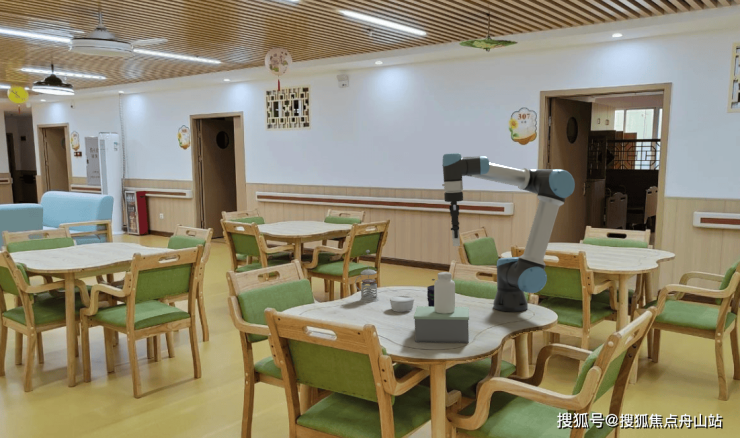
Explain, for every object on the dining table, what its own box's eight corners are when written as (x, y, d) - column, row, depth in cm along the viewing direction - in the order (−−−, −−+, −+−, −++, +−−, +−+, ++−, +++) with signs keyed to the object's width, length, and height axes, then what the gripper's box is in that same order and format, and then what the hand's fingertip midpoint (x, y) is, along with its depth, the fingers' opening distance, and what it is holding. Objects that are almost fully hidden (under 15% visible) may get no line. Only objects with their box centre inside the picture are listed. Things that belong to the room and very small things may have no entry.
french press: (379, 301, 285) (377, 251, 282) (355, 302, 284) (353, 252, 282) (379, 297, 294) (377, 248, 292) (356, 297, 294) (354, 248, 292)
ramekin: (414, 306, 275) (414, 295, 274) (414, 312, 264) (413, 301, 263) (390, 306, 276) (390, 295, 275) (389, 312, 265) (388, 301, 264)
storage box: (468, 331, 232) (468, 309, 231) (468, 343, 219) (468, 319, 218) (418, 331, 236) (417, 309, 235) (415, 342, 222) (414, 319, 221)
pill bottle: (454, 314, 221) (454, 275, 220) (433, 313, 223) (433, 275, 221) (455, 309, 229) (455, 271, 228) (435, 308, 231) (434, 271, 229)
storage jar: (456, 321, 247) (455, 279, 245) (441, 326, 240) (440, 283, 238) (437, 317, 254) (436, 276, 252) (423, 322, 247) (421, 280, 245)
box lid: (468, 309, 232) (468, 306, 232) (469, 319, 217) (469, 317, 217) (416, 308, 235) (416, 306, 235) (413, 318, 221) (413, 316, 221)
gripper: (443, 189, 250) (446, 238, 252) (444, 194, 225) (447, 248, 228) (461, 188, 249) (464, 237, 251) (464, 193, 224) (466, 248, 227)
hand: (456, 243), depth 240 cm, fingers open, 13 cm apart
